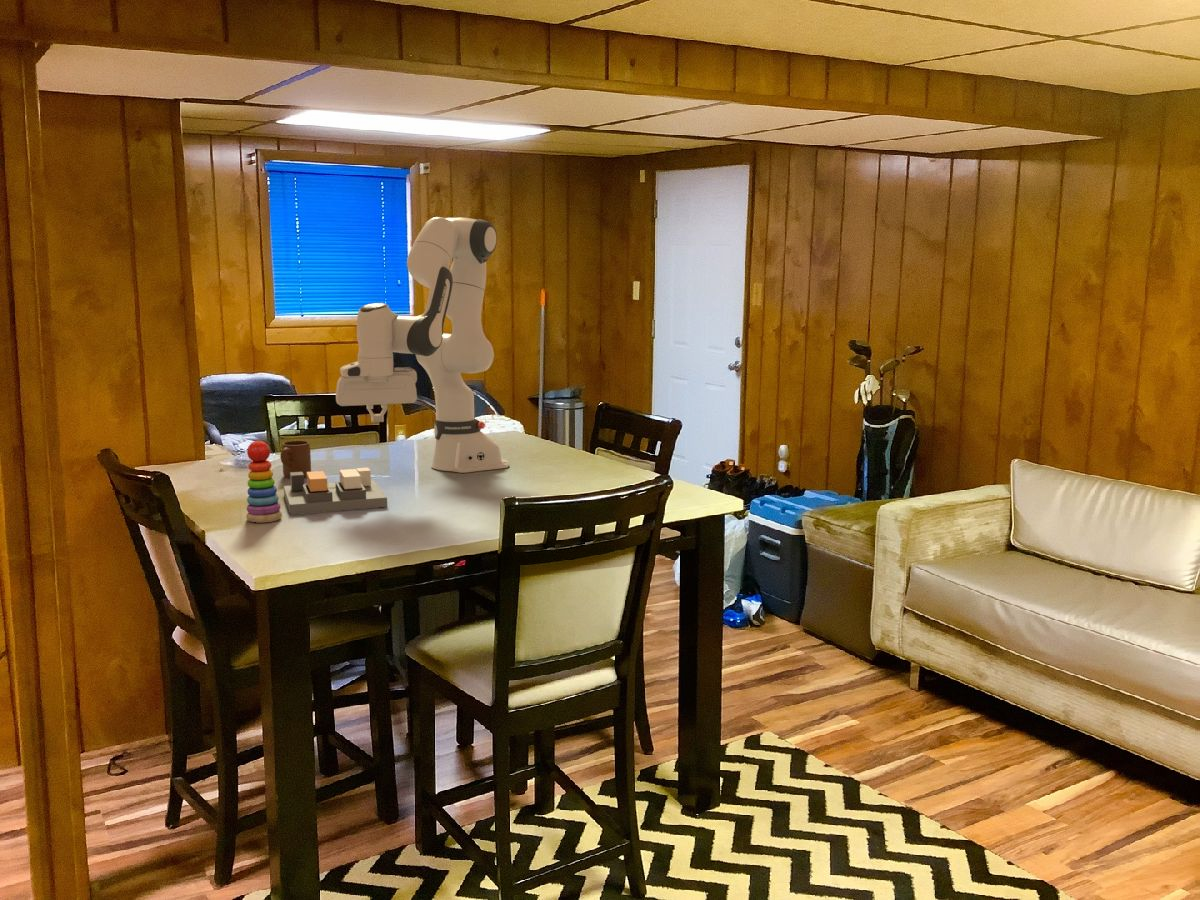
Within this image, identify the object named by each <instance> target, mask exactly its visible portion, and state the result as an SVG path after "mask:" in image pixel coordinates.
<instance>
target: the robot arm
mask: <svg viewBox="0 0 1200 900" xmlns="http://www.w3.org/2000/svg"><path fill="white" fill-rule="evenodd" d="M497 243H498V233H497V230H496V228H495V226H494V225H493V223H492V222H490V221H487V220H484V219H482V218H478V219H475V218H470V217H461V216H458V217H442V216H435V217H432V218H430V219H429V220H427V221H426V222H425V223H424V225H423V227H422V228H421V230H420V231H419V232H418V234H417V236H416V238H415V240H414V242H413V243H412V247H411V248H410V251H409V253H408V255H407V260H406V266H407V270H408V272H409V274H410V275H411V277H412V278H413V279H414V280H415V281H416V282H417V283H418V284H420V285H421V286H423V287H426V288H428V289H429V294H428V298H427V302H426V305H425V310H424V312H423V313H422V314H420V315H419V314H418V315H417V316H416V315H415V316H412V315H411V316H410V315H399V314H398V313H395V312H393V311H392V310H391V308H390V306H389V305H388V303H384V302H377V303H376V302H375V303H368V304H364V305H363V306H361V307H360V308H359V310H358V313H357V317H356V318H357V319H356V341H357V343H358V352H357V361H355V362H351V363H348V364H345V365H343V366H341V367H340V368H339V373H340V375H341V376H339V378H338V380H337V382H336V388H335V391H336V392H335V402H336V404H337V405H339V406H340V407H350V406H366V410H367V411H368V412H369V415H370V419H371V423H384V421H385V419H384V418H385V416H384V415H385V414H386V413H387V411H388V409H389V408H388V405H399V404H414V403H416V402H417V400H418V394H417V393H418V392H417V386H416V383H417V381H418V374H417V371H416V370H415V369H414V368H412V367H411V366H410V367H408V366H406V367H394V354H393V353H399V354H411V355H415V358H416V360H417V362H418V364H419V365H421V367H422V368H423V369H424V370H425V372H426V374H427V375H428V377H429V379H430V382H431V385H432V387H433V392H434V398H435V417H436V418H435V419H434V427H433V428H434V431H433V432H434V439H435V444H434V445H435V447H434V448H435V449H434V455H433V460H432V463H431V468H432V469H435V470H438V471H445V472H455V473H460V474H462V473H472V472H483V471H492V470H500V469H506V468H508V467H509V466H510V464H509V461H508V460H507V459H505V458H503V457H502V455H501V454H502V453H501V449H500V446H499V445H498V443H497V442H495V441H494V440H493V439H492V438H490V437H489V436H488V435H486V434H485V433H483V431H482V430H483V429H485V428H486V423H485V422H484V421H482V420H478V419H477V418H475V395H474V392H473V390H472V389H471V388H470V386H468V385H467V384H466V382H465V381H464V379H463V377H462V374H477V373H482V372H483V373H484V372H486V371H487V370H489V368H490V367H491V366H492V364H493V361H494V358H495V353H494V348H493V345H492V343H491V342H490V341H489V339H488V338H487V337H486V334H485V333H484V330H483V325H482V311H483V310H482V309H483V303H484V298H485V297H484V295H485V291H486V285H487V284H486V283H487V261H488V259H489V258H490V257H491V256H492V254H493V253H494V251H495V250H496V247H497ZM446 317H447V318H448V319H449V320H450V322H451V333H445V332H444V324H445V320H446ZM377 405H378V406H379V405H380V407H381V411H380V413H378V414H377V413H376V414H375V413H374V412H373V409H374V406H377Z"/></svg>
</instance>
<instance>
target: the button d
mask: <svg viewBox="0 0 1200 900" xmlns="http://www.w3.org/2000/svg"><path fill="white" fill-rule="evenodd" d="M339 482H341V484H342V486H343V488H344V489H355V488H361V476H360V474H359V473H358V471H357V470H356V468H350V469H346V468H345V469H339Z"/></svg>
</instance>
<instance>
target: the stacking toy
mask: <svg viewBox="0 0 1200 900" xmlns="http://www.w3.org/2000/svg"><path fill="white" fill-rule="evenodd" d="M246 453H247V456H248V458H249V460H251V461H250V462H249V464H248V469H249V470H250V471H249V472H248V474H247V477H248V480H247V487H249V488H248V489H247V494H248V496H247V497H246V501H247V506H246V511H247V513H246V515H245V516H246V520H247V521H248V522H251V523H254V522H256V524H265V522H267V523H272V522H276V521H278V520H281V518H282V516H283V512H282V510H280V509H281V503H280V502H279V498H280V497H279V494H277V492H278V489H277V487H276V486H275V482H276V481H275V479H274V477H273V476H274V472H273V470H272V469H271V468H272V462H271V461H269V460H268V458H269V457H270V456H271V455H270V454H271V448H270V446H269V445H268V443H266V442H265V441H262V440H255V441H253V442H250V444H249V445H248V447H247V450H246Z"/></svg>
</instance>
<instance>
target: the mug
mask: <svg viewBox="0 0 1200 900" xmlns="http://www.w3.org/2000/svg"><path fill="white" fill-rule="evenodd" d="M280 451H281V452H280V454H279V455H280V461H281V463H282V473H283V474H282V475H283V477H285V478H288V479H290V472H303V474H304V478H307V472H312V461H311V460H312V458H311V457H312V456H311V444H310V442H309V441H308V440H307V441H305V440H290V441H285V442H282V444H281V450H280Z"/></svg>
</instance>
